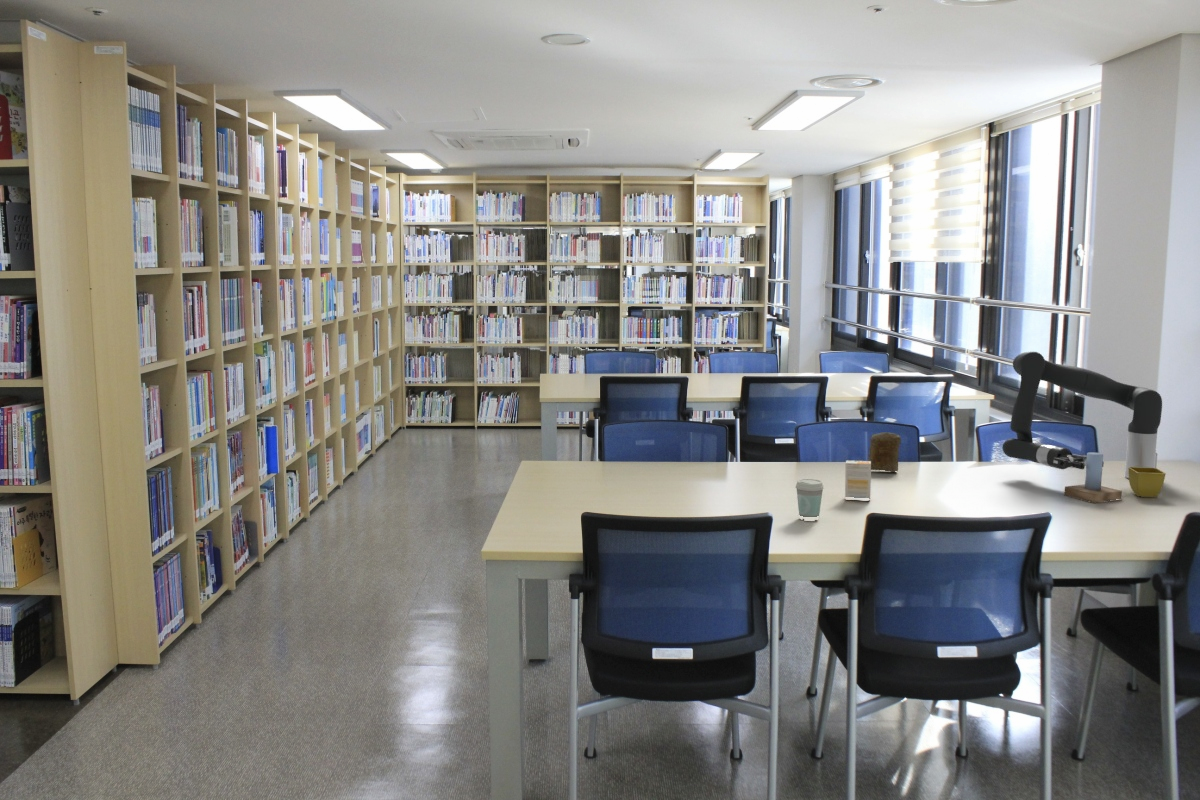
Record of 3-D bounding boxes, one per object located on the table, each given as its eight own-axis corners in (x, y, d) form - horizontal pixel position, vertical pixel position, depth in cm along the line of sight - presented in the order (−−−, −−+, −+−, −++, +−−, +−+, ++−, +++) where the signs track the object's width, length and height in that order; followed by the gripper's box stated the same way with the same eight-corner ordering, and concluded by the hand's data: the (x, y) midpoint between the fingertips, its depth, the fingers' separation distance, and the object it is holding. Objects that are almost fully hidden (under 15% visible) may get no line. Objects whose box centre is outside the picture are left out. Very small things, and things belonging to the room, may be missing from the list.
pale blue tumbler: (1092, 486, 308) (1094, 451, 306) (1104, 489, 304) (1106, 454, 302) (1081, 487, 306) (1083, 452, 305) (1093, 490, 302) (1095, 455, 300)
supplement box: (870, 498, 307) (871, 460, 305) (869, 502, 302) (871, 463, 301) (845, 497, 310) (846, 459, 308) (844, 500, 305) (845, 462, 303)
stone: (865, 472, 348) (866, 433, 346) (872, 467, 356) (873, 430, 354) (895, 475, 342) (896, 436, 340) (901, 470, 350) (902, 432, 348)
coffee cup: (791, 516, 286) (792, 478, 284) (817, 515, 287) (818, 478, 285) (799, 523, 277) (800, 485, 276) (826, 522, 278) (827, 484, 277)
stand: (1090, 492, 313) (1091, 483, 313) (1121, 499, 302) (1121, 491, 301) (1064, 495, 309) (1064, 486, 308) (1094, 503, 298) (1095, 494, 297)
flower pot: (1164, 499, 302) (1166, 473, 301) (1135, 498, 304) (1137, 472, 302) (1153, 493, 310) (1155, 467, 309) (1126, 492, 312) (1127, 466, 311)
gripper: (1039, 447, 316) (1078, 456, 301) (1069, 444, 321) (1109, 452, 306) (1037, 468, 317) (1076, 478, 302) (1068, 465, 322) (1108, 474, 307)
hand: (1093, 465), depth 304 cm, fingers open, 8 cm apart
